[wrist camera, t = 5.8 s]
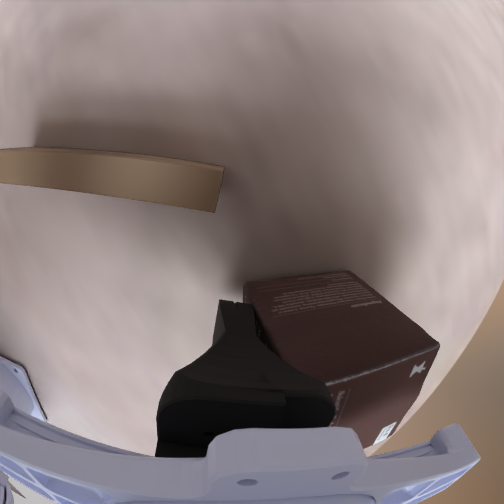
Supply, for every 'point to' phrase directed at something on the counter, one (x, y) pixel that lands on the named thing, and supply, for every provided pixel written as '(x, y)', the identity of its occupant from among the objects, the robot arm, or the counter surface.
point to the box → (346, 346)
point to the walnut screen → (115, 175)
